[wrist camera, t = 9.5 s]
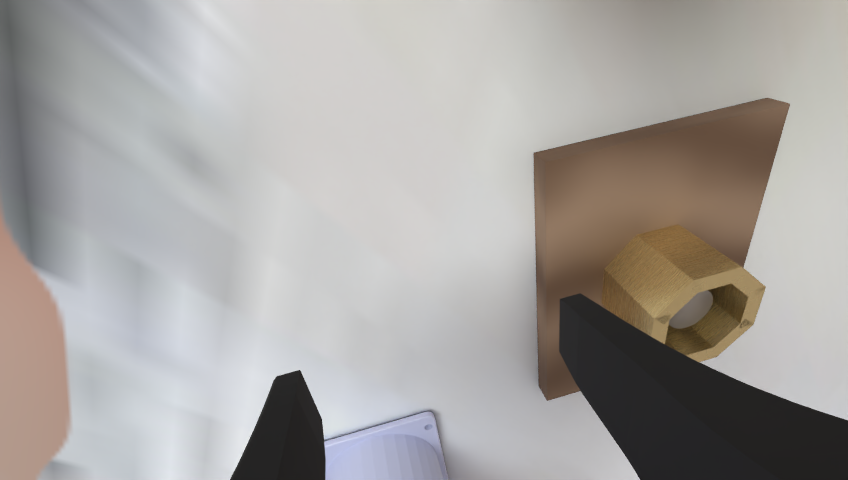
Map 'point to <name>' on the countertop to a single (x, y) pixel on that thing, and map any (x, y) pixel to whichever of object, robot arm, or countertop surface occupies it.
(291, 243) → the countertop surface
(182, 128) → the countertop surface
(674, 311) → the brass collar
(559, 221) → the hub board
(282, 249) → the countertop surface
